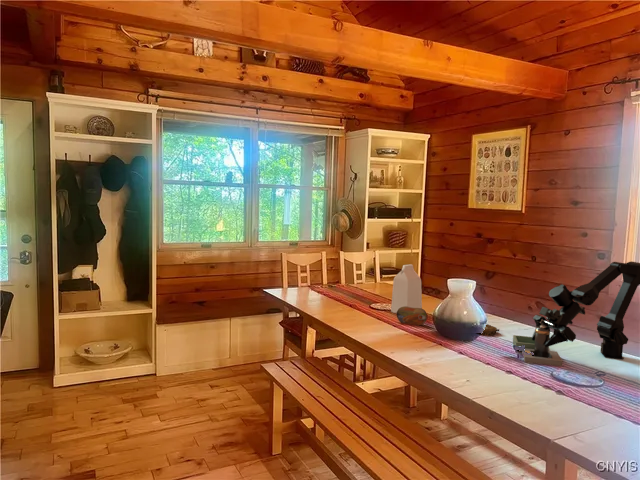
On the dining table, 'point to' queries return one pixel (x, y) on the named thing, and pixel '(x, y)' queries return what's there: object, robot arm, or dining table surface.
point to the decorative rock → (490, 330)
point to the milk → (406, 289)
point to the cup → (523, 341)
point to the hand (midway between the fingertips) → (538, 342)
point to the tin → (412, 315)
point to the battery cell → (541, 341)
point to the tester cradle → (552, 360)
